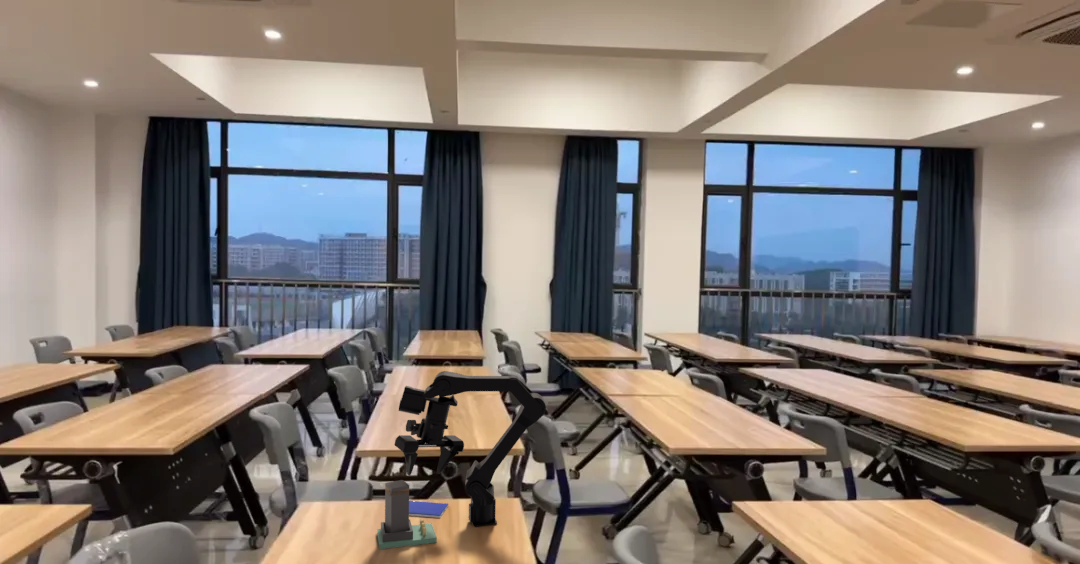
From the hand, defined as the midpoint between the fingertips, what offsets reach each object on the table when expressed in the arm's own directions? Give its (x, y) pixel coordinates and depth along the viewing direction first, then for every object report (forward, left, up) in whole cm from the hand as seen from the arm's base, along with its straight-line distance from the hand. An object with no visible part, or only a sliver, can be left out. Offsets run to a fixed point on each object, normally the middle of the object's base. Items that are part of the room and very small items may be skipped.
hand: (423, 474), depth 172 cm
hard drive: (-1, -8, -14) cm, 16 cm away
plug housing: (+8, +8, -12) cm, 17 cm away
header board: (+5, +8, -13) cm, 17 cm away
